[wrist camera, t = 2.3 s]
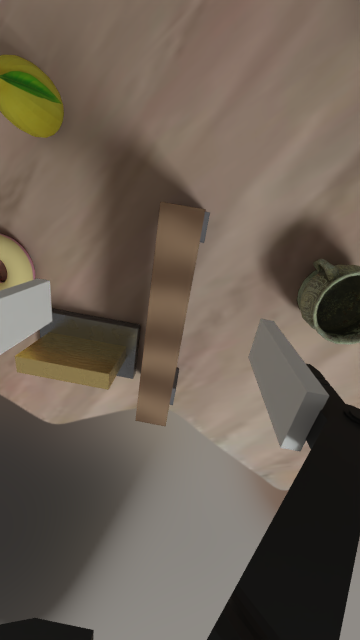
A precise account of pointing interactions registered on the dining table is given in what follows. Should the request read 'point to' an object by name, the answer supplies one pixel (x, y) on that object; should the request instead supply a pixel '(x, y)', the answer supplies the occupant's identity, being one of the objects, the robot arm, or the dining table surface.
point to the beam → (167, 307)
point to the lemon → (29, 97)
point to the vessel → (332, 301)
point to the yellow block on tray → (82, 350)
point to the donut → (15, 263)
